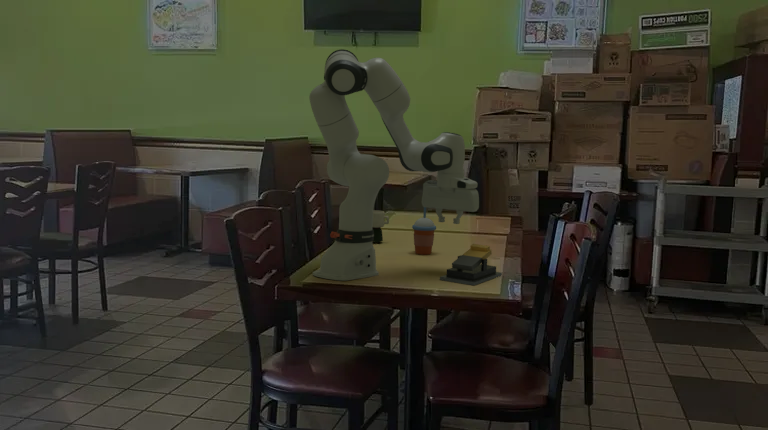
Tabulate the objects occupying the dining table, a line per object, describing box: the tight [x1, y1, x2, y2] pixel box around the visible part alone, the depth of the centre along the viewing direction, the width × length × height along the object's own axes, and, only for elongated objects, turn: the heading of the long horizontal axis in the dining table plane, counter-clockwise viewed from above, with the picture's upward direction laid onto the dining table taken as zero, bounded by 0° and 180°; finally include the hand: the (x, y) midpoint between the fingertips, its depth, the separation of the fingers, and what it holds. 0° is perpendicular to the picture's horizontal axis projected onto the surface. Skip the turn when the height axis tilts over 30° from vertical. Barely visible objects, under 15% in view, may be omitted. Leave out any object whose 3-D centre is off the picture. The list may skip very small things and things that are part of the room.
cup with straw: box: [411, 207, 437, 256], centre depth 268 cm, size 9×9×18 cm
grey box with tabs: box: [439, 254, 503, 286], centre depth 226 cm, size 20×12×7 cm, turn 146°
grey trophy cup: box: [372, 209, 390, 243], centre depth 290 cm, size 11×7×13 cm, turn 86°
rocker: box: [451, 243, 493, 271], centre depth 225 cm, size 14×7×3 cm, turn 146°
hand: (448, 222), depth 235 cm, fingers open, 4 cm apart
